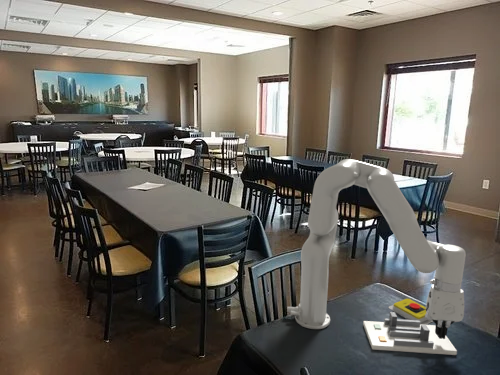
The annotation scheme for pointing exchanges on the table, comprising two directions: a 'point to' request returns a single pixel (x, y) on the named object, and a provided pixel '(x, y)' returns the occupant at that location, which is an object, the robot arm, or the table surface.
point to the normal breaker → (392, 319)
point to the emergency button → (410, 310)
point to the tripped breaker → (424, 333)
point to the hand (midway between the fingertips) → (440, 336)
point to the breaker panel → (406, 337)
